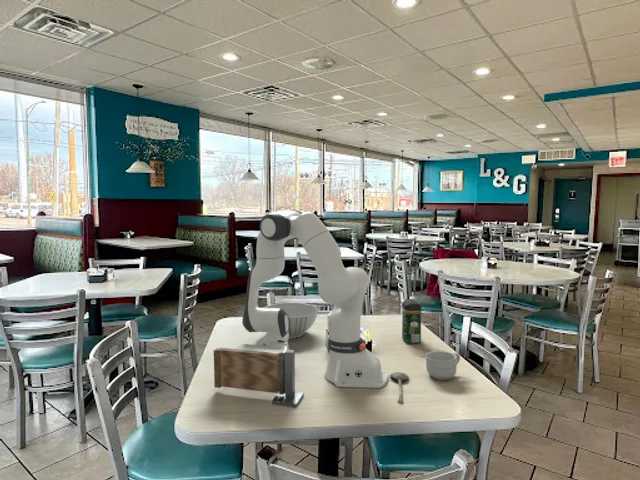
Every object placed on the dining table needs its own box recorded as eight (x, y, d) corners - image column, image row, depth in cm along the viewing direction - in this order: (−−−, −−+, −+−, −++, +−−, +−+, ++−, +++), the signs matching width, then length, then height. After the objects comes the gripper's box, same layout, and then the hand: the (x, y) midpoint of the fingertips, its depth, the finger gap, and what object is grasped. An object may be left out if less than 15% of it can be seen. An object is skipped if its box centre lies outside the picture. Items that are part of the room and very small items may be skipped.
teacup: (435, 384, 143) (435, 362, 142) (419, 372, 153) (420, 351, 152) (470, 380, 146) (471, 358, 146) (452, 368, 157) (453, 347, 156)
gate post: (303, 395, 135) (303, 347, 133) (296, 407, 127) (295, 356, 126) (280, 392, 137) (280, 345, 135) (271, 404, 129) (271, 354, 128)
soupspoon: (408, 377, 151) (390, 377, 152) (408, 368, 151) (389, 368, 152) (410, 404, 129) (389, 403, 131) (410, 394, 129) (389, 393, 130)
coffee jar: (400, 337, 193) (400, 297, 191) (417, 337, 193) (418, 297, 191) (404, 344, 183) (405, 303, 181) (422, 344, 183) (423, 303, 181)
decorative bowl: (298, 348, 179) (298, 320, 177) (249, 337, 192) (249, 312, 191) (328, 331, 202) (328, 306, 201) (283, 323, 215) (283, 300, 214)
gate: (286, 393, 133) (285, 352, 132) (284, 395, 131) (283, 354, 130) (217, 384, 139) (216, 346, 138) (214, 387, 137) (213, 348, 136)
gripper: (242, 338, 162) (225, 350, 149) (292, 342, 157) (279, 355, 144) (242, 353, 163) (226, 367, 150) (292, 358, 158) (279, 373, 144)
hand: (252, 361), depth 147 cm, fingers closed
